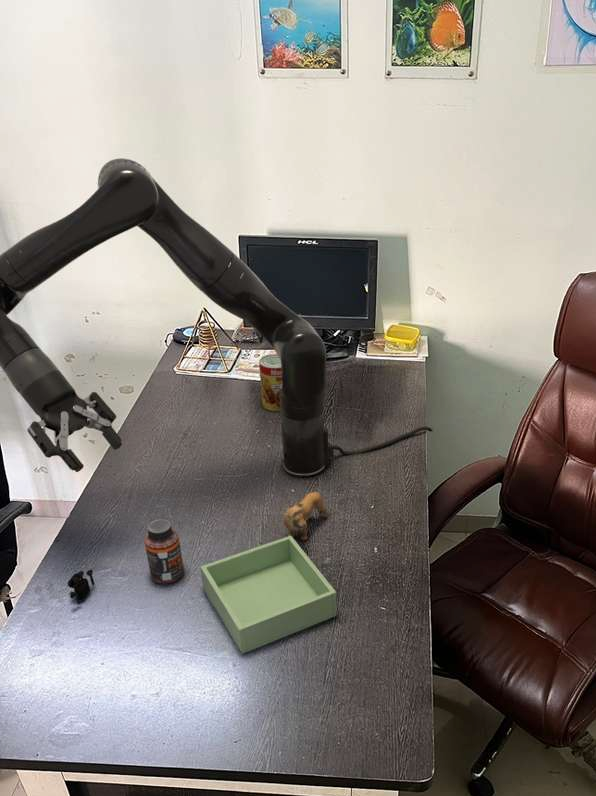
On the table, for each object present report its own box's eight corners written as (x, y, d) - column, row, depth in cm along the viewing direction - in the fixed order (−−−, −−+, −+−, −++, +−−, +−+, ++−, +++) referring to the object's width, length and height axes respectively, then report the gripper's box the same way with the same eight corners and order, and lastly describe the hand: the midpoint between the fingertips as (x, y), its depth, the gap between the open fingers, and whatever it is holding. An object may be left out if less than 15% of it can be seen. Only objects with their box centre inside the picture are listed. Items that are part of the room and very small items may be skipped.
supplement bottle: (176, 587, 134) (167, 538, 127) (145, 582, 135) (135, 533, 128) (189, 566, 139) (181, 518, 132) (159, 561, 139) (150, 513, 133)
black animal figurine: (77, 610, 129) (71, 589, 126) (64, 608, 129) (57, 586, 126) (98, 583, 134) (92, 562, 131) (85, 581, 135) (79, 560, 132)
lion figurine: (304, 553, 142) (303, 516, 137) (279, 548, 143) (276, 510, 138) (331, 510, 153) (330, 474, 148) (307, 505, 155) (306, 469, 149)
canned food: (281, 414, 185) (278, 370, 178) (256, 405, 188) (252, 362, 181) (299, 401, 191) (297, 358, 183) (274, 393, 194) (272, 350, 187)
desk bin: (292, 558, 141) (290, 535, 138) (336, 615, 129) (336, 592, 126) (203, 589, 133) (200, 566, 130) (242, 654, 121) (239, 630, 118)
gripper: (9, 388, 119) (74, 469, 121) (80, 356, 129) (139, 431, 131) (-3, 408, 124) (59, 485, 126) (66, 376, 134) (122, 448, 136)
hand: (100, 458), depth 129 cm, fingers open, 8 cm apart
